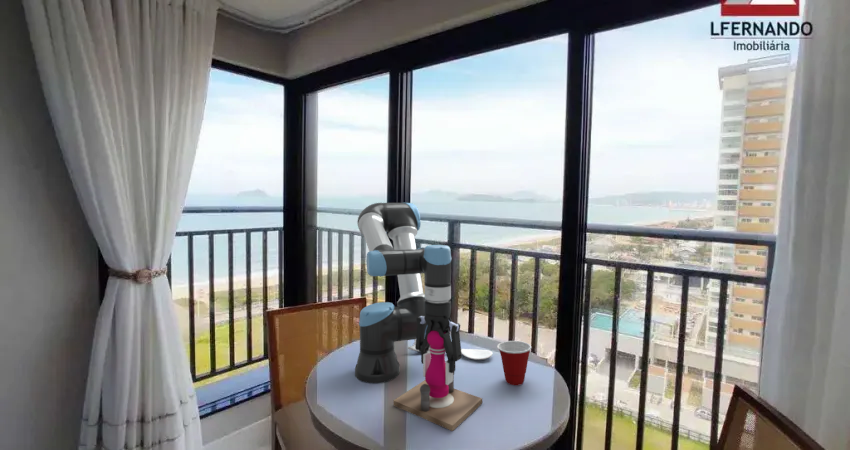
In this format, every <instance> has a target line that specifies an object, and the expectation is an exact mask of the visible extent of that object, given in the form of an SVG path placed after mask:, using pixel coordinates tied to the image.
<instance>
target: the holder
mask: <svg viewBox="0 0 850 450" xmlns="http://www.w3.org/2000/svg"><path fill="white" fill-rule="evenodd" d="M454 378H455V372H453V382H451V383H450V384H449V385H448V386H449V393H448V395H447V396H445V397H443V398H434V397H431V396H429V392H430V387H429V385H428V384H427V383H426V380H425V379H424V380H422V381H421V382H419V383H418V384H417V385H415V386H414V387H412V388H410V389H409V390H408V391H407V390H406V391H405V392H404V393H402V394H401V395H400V396H398V397H397V398H395V399H393V402H392V403H393V406H394V407H396V408H398V409H400V410H403V411H405V412H408V413H409V414H412V415H414V416H416V417H419V418H421V419H424V420H426V421H428V422H431V423H433V424H435V425H438V426H440V427H442V428H444V429H447V430H449V431H451V432H453V431H455V430H456V429H457V428H458V427H459V426H460V425H461V424H462V423H463V422H464V421H466V419H467V418H468V417H470V416H471V415H472V414H473V413H474V412H475V411H476V410H477V409H478V408H479V407H480V406H482V404H483V398H482V397H479V396H478V395H477V396H476V395H474V394H471V393H468V392H466V391H463V390H460V389H457V388H454V387H455V382H454V381H455V379H454Z"/></svg>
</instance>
